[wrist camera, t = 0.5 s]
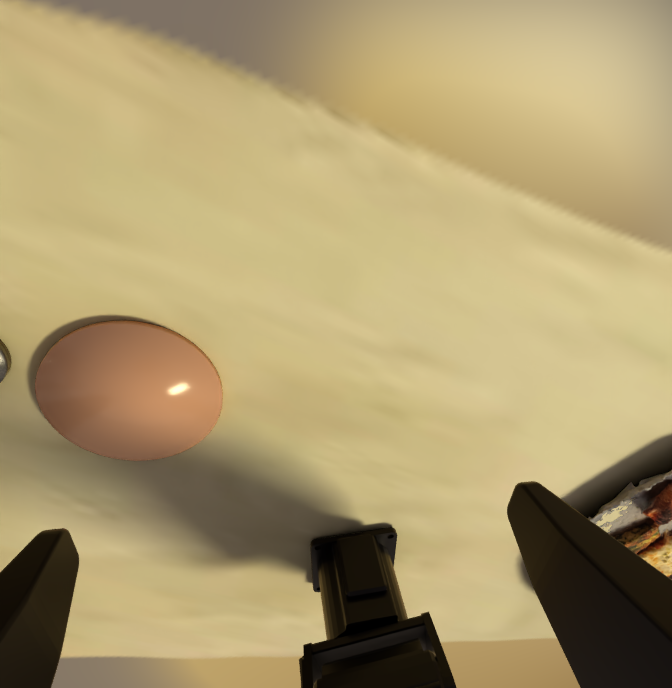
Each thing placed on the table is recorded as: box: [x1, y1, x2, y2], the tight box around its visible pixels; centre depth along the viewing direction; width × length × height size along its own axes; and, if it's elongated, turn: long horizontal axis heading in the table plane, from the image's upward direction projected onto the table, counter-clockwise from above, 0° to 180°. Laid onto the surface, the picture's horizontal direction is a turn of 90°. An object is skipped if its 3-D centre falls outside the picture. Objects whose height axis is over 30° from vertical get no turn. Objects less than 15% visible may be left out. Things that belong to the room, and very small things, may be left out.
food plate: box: [588, 470, 672, 580], centre depth 40 cm, size 25×23×4 cm
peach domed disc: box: [35, 320, 223, 461], centre depth 23 cm, size 9×9×1 cm
